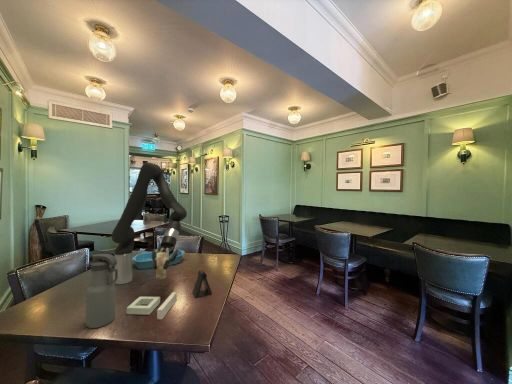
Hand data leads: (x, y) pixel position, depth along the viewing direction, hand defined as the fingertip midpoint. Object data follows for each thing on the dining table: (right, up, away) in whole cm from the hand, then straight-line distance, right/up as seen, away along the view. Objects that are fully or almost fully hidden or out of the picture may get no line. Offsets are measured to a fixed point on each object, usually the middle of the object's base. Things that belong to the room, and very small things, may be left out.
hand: (159, 268), depth 104 cm
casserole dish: (-26, -17, +57) cm, 65 cm away
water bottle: (-17, -17, -16) cm, 29 cm away
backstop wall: (+6, -17, -6) cm, 19 cm away
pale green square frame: (-5, -17, -6) cm, 18 cm away
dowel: (0, -5, +2) cm, 5 cm away
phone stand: (+19, -17, +9) cm, 27 cm away
